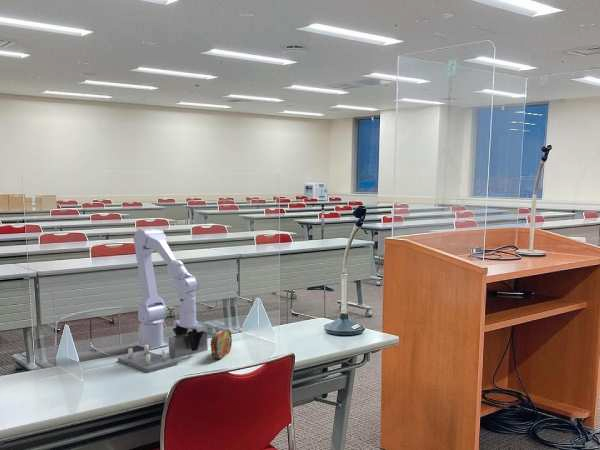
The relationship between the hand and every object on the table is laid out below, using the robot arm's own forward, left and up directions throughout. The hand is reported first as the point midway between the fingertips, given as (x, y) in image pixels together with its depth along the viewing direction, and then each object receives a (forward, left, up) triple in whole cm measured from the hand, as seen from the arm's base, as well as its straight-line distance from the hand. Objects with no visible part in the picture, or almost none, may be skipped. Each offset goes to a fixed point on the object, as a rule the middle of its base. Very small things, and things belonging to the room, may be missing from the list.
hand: (188, 348), depth 190 cm
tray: (-1, -16, -2) cm, 16 cm away
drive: (0, 0, -2) cm, 2 cm away
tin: (+11, +6, -2) cm, 13 cm away
